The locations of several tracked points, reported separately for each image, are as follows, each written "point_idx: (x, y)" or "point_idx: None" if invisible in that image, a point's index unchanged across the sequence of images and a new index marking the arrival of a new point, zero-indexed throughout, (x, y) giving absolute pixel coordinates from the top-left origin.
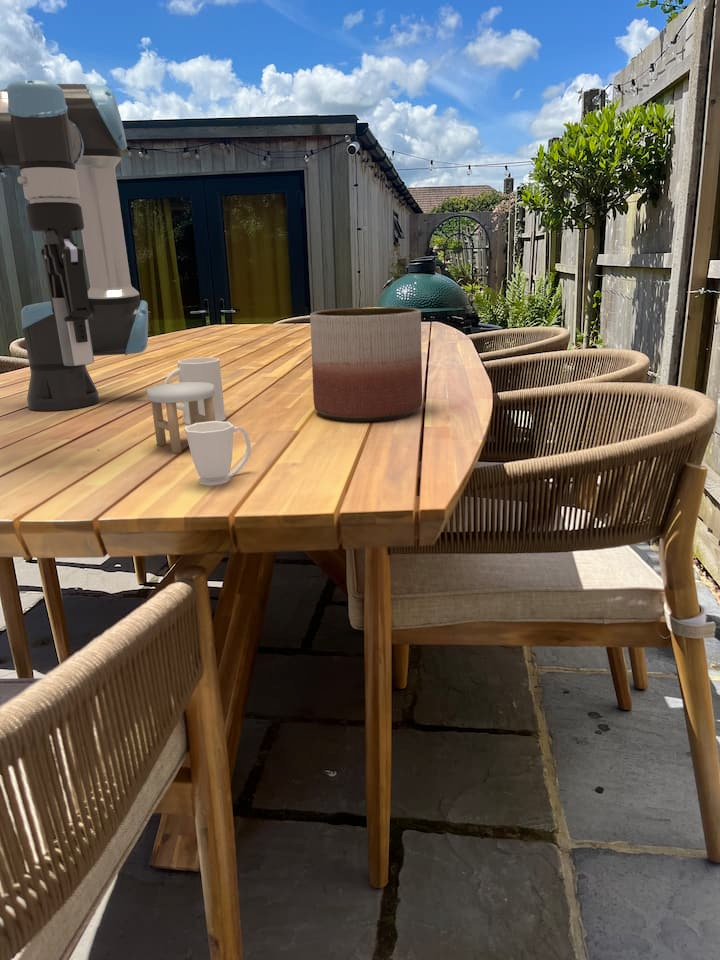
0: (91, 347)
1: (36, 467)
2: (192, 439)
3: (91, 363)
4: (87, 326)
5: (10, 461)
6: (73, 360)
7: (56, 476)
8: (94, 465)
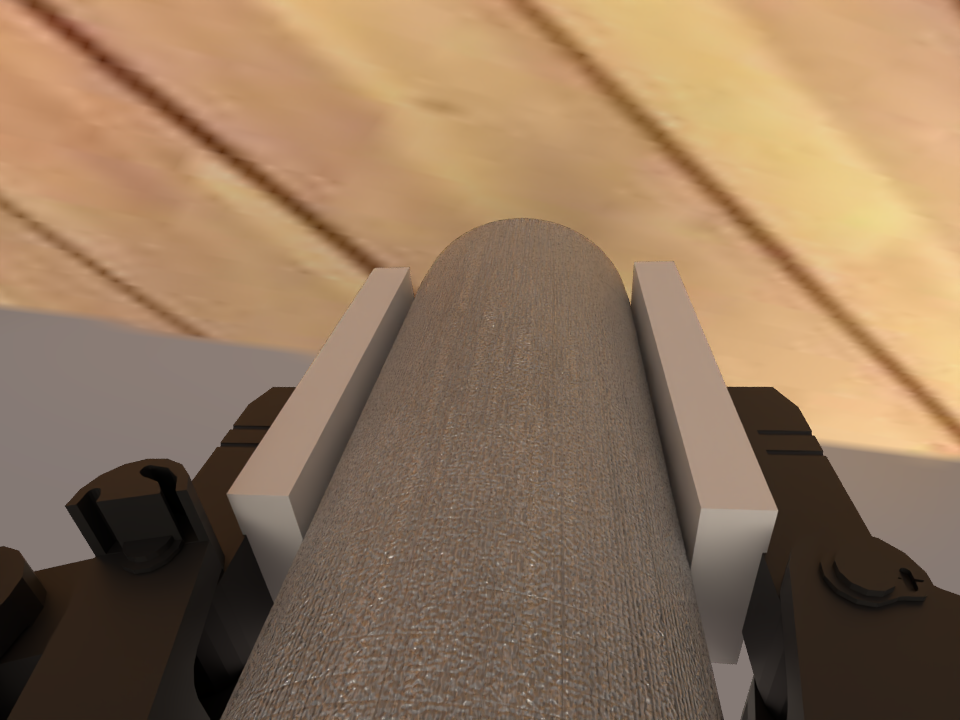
0: (584, 283)
1: None
2: None
3: (604, 255)
4: (753, 453)
5: None
6: None
7: None
8: (651, 179)
